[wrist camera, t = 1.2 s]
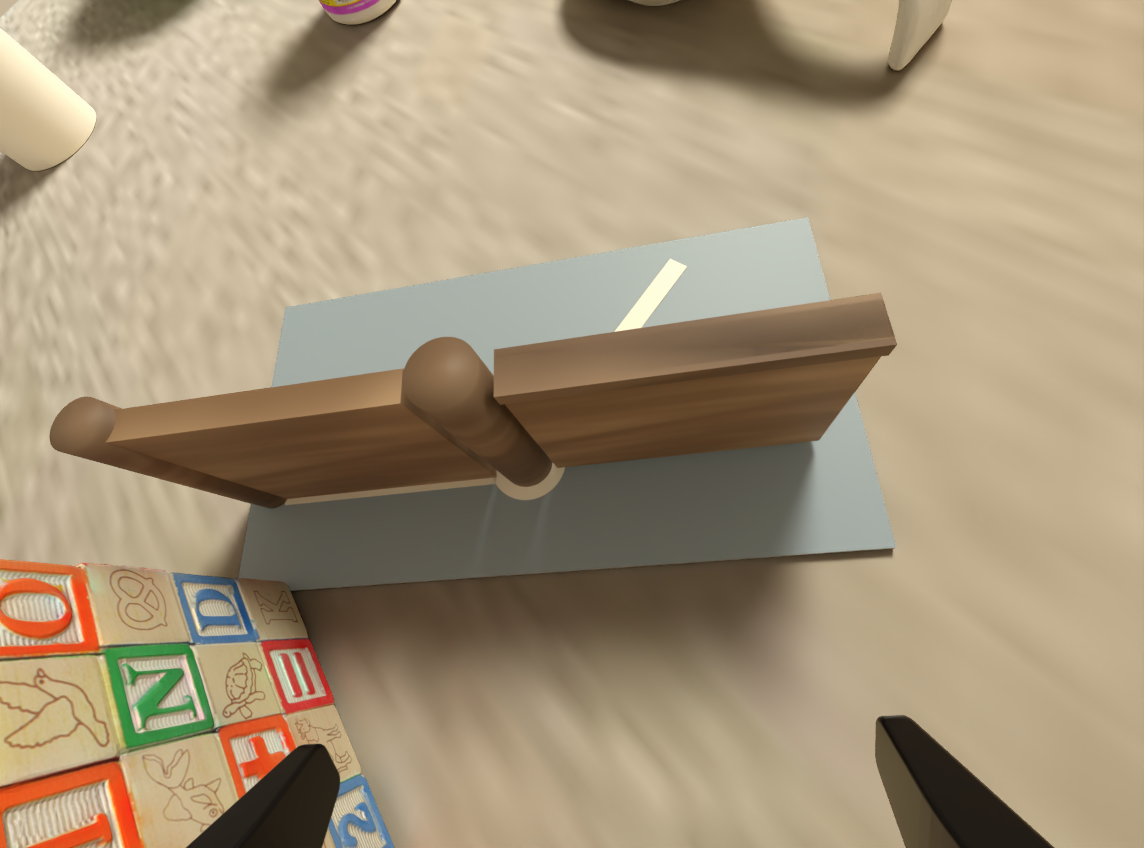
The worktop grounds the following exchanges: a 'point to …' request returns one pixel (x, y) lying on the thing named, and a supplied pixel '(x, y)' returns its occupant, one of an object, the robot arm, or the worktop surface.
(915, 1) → the spoon rest
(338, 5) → the supplement bottle
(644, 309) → the card
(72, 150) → the cylindrical container
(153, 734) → the stack of blocks
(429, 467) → the fence post and fixed panel
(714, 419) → the wooden board
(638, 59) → the worktop surface
